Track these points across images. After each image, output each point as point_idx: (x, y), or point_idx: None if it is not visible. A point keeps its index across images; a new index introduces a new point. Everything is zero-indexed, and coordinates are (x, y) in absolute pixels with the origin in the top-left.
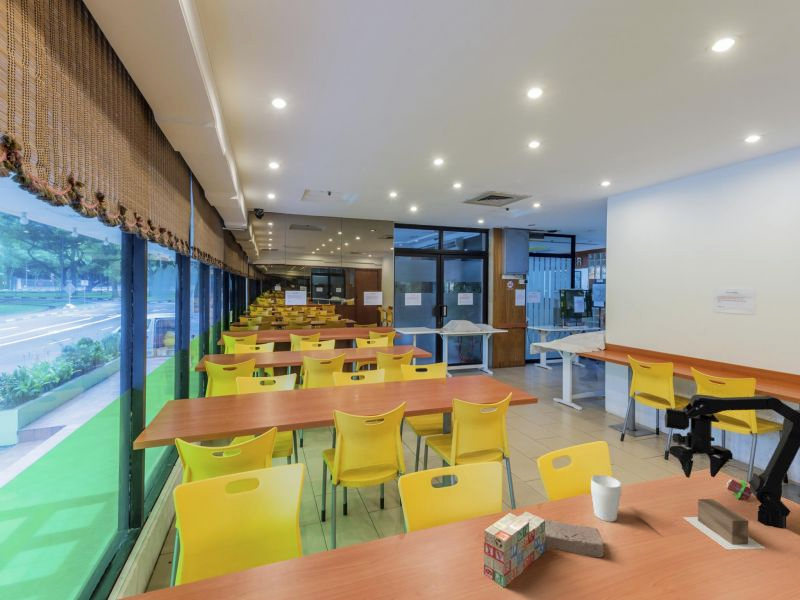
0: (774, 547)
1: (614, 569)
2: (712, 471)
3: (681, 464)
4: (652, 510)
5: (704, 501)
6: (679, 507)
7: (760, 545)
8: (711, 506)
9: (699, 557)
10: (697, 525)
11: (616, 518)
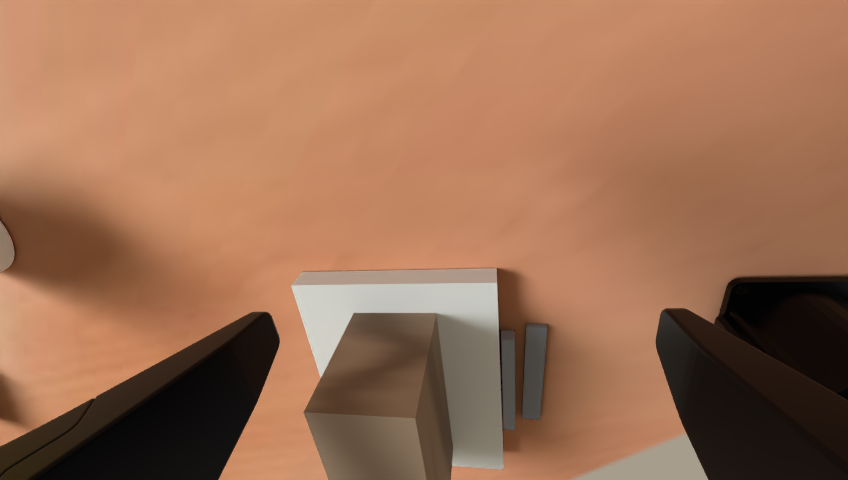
0: (580, 431)
1: None
2: (704, 402)
3: (40, 439)
4: (188, 170)
5: (329, 435)
6: (367, 125)
7: (497, 458)
8: (337, 473)
9: (256, 439)
10: (326, 345)
11: (9, 259)
